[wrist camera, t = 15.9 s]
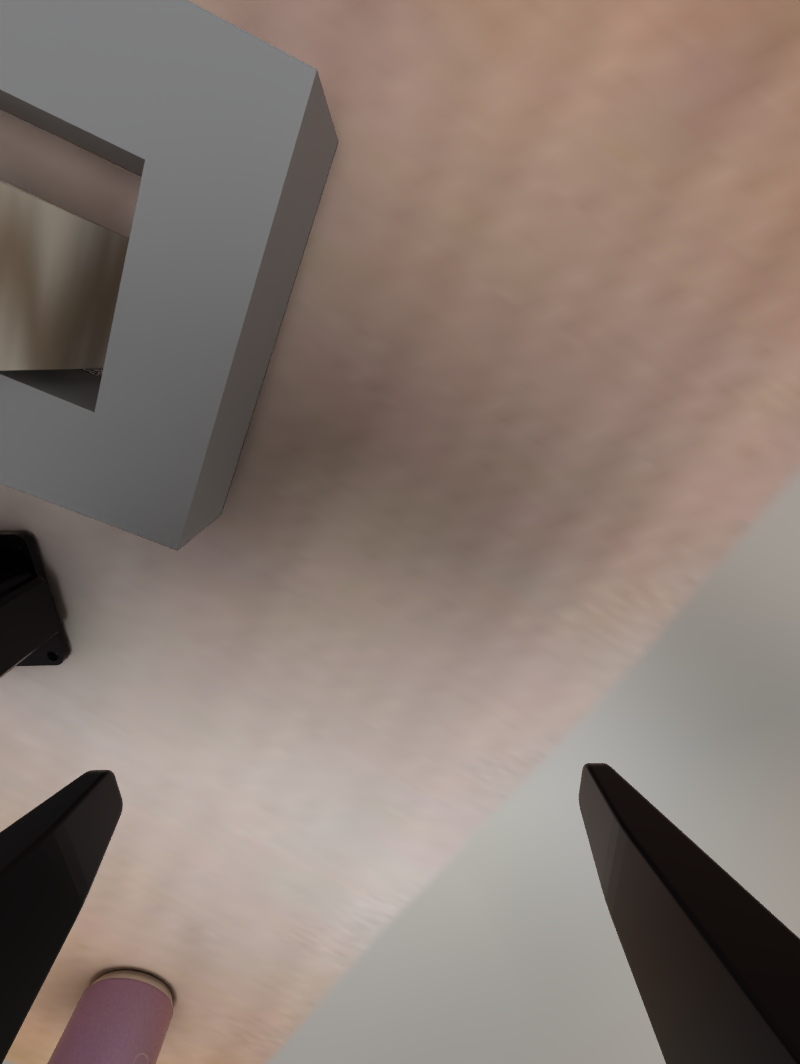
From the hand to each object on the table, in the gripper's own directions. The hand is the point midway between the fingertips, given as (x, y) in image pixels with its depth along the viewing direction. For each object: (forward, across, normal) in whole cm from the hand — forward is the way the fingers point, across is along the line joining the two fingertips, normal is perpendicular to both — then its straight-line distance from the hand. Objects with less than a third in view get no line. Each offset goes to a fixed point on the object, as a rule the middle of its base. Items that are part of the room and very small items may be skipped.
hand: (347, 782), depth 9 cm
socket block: (+12, +10, -11) cm, 19 cm away
